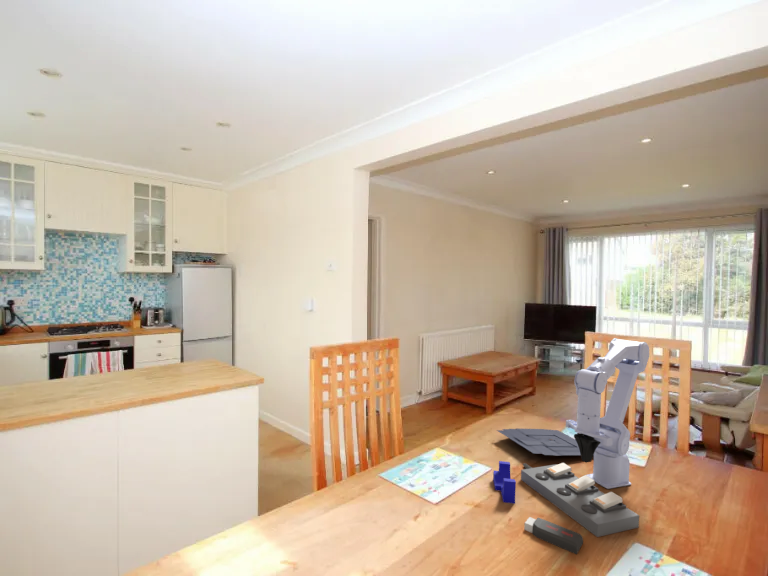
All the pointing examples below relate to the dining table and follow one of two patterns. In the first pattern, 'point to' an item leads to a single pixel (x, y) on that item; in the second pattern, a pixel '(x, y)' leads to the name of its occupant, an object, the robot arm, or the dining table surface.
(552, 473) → the rocker
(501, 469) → the blue pipe cradle
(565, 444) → the grey ridged plate
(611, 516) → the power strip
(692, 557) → the dining table surface
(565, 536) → the usb drive
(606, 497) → the rocker
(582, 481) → the rocker middle
